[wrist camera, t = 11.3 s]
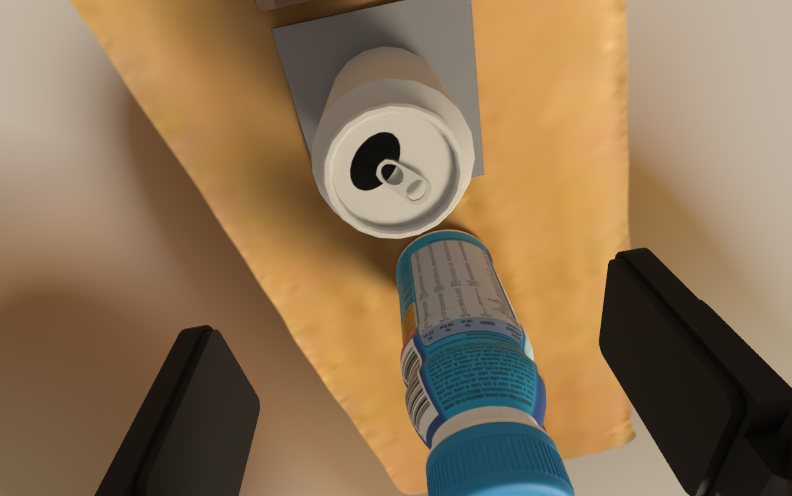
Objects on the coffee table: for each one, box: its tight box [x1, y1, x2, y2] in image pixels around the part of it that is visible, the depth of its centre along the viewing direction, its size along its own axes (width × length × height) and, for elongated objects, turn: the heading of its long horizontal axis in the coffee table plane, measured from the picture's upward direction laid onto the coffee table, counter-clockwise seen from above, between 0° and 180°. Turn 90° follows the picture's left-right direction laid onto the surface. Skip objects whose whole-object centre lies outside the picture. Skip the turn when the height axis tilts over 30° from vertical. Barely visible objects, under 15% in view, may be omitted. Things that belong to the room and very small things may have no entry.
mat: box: [271, 0, 484, 205], centre depth 28 cm, size 12×12×1 cm
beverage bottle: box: [396, 229, 574, 496], centre depth 27 cm, size 8×8×20 cm
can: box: [312, 46, 475, 239], centre depth 23 cm, size 8×8×12 cm
